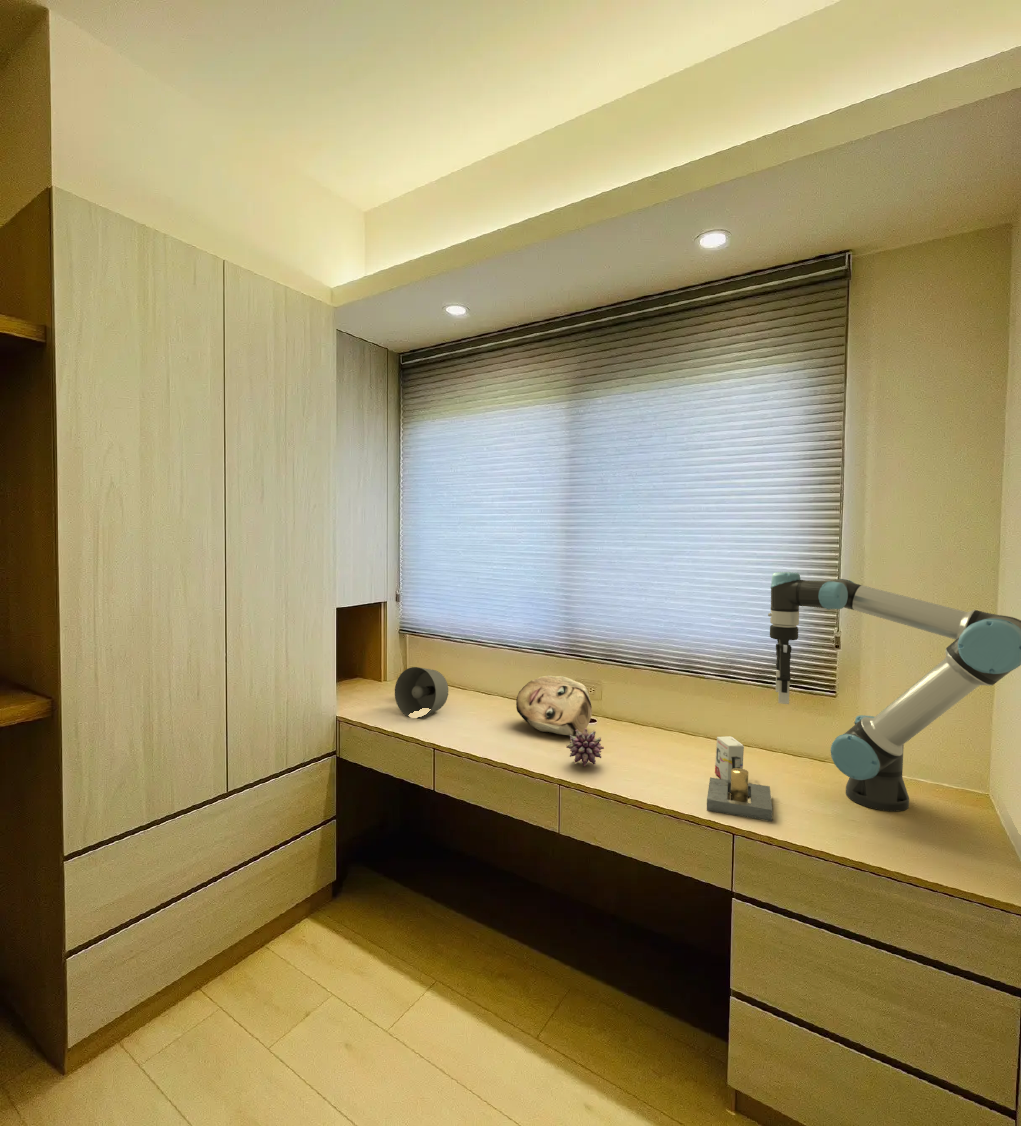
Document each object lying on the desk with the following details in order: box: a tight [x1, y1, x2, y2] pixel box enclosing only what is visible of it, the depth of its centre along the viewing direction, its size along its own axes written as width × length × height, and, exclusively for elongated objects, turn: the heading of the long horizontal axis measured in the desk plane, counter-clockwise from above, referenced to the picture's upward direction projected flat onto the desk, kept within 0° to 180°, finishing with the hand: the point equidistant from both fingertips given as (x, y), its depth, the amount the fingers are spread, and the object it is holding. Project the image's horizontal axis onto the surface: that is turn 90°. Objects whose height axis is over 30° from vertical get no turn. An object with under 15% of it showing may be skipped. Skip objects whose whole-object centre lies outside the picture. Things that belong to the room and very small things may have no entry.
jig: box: [706, 777, 773, 822], centre depth 161 cm, size 16×16×3 cm
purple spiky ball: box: [566, 727, 605, 768], centre depth 187 cm, size 12×12×12 cm
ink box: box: [714, 735, 745, 780], centre depth 178 cm, size 9×5×12 cm, turn 6°
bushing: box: [730, 768, 749, 803], centre depth 161 cm, size 4×4×9 cm
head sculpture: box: [515, 674, 593, 736], centre depth 225 cm, size 23×17×28 cm
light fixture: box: [394, 666, 449, 719], centre depth 249 cm, size 20×25×27 cm
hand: (782, 697), depth 171 cm, fingers open, 13 cm apart
